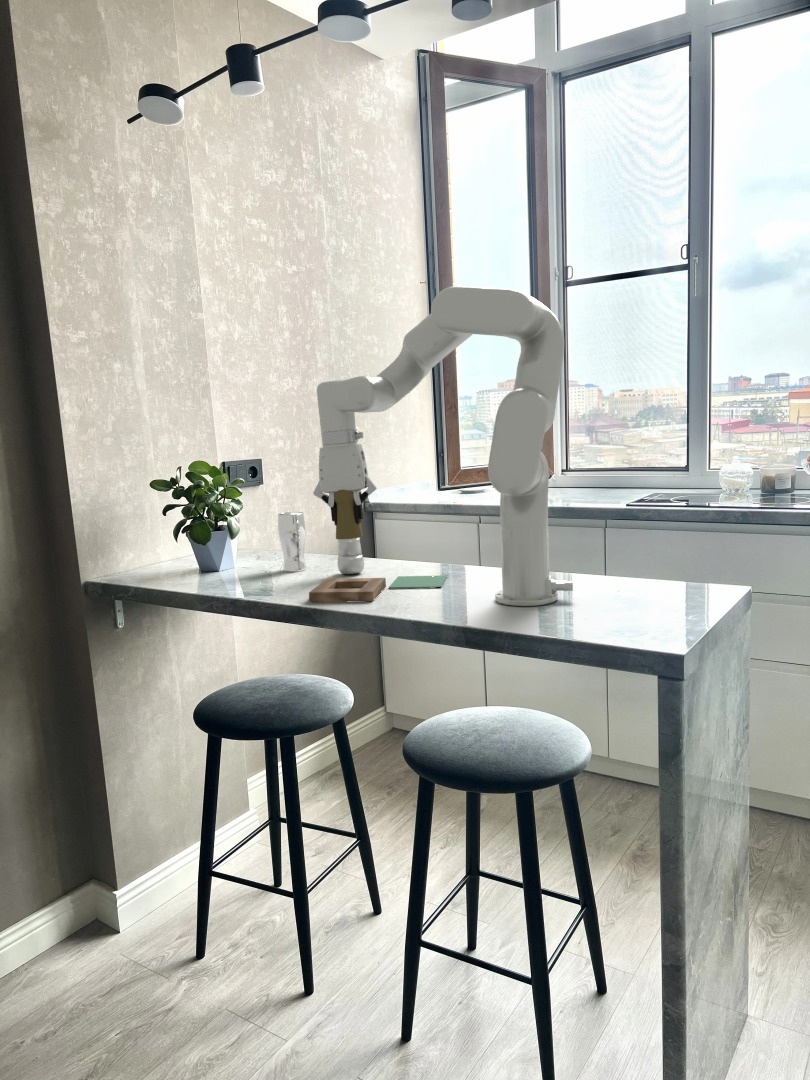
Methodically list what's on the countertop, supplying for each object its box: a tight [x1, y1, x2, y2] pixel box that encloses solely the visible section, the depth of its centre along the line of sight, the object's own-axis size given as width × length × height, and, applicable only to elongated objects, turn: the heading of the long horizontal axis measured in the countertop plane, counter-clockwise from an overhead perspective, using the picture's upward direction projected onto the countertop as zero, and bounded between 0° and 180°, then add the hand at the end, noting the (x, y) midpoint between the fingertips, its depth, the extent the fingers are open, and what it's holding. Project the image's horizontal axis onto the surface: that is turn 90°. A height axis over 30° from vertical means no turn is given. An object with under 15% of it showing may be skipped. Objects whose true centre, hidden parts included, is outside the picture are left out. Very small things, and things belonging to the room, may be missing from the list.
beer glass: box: [277, 511, 307, 573], centre depth 206 cm, size 7×7×15 cm
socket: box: [308, 577, 387, 603], centre depth 174 cm, size 14×14×2 cm
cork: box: [334, 490, 364, 540], centre depth 171 cm, size 6×6×11 cm
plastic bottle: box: [337, 537, 365, 575], centre depth 196 cm, size 6×7×20 cm
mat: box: [388, 574, 448, 589], centre depth 183 cm, size 12×12×1 cm
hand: (348, 522), depth 172 cm, fingers closed on cork, 4 cm apart
